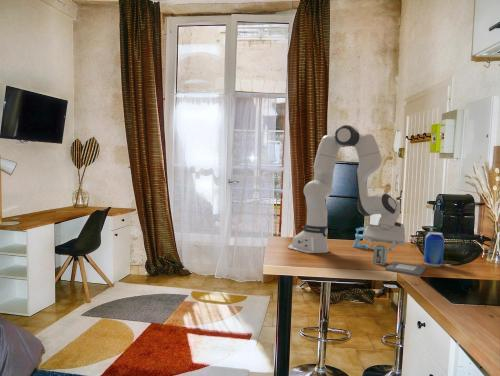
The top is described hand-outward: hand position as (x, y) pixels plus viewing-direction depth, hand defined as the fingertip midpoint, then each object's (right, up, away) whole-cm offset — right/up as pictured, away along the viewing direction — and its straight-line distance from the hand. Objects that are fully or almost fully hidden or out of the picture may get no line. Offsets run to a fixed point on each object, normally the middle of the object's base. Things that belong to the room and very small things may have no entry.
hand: (380, 248), depth 192 cm
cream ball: (+1, -3, 0) cm, 3 cm away
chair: (0, -5, +36) cm, 36 cm away
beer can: (+26, -9, +1) cm, 28 cm away
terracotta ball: (-1, -5, 0) cm, 5 cm away
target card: (+9, -8, -9) cm, 15 cm away
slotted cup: (0, -7, +1) cm, 7 cm away
